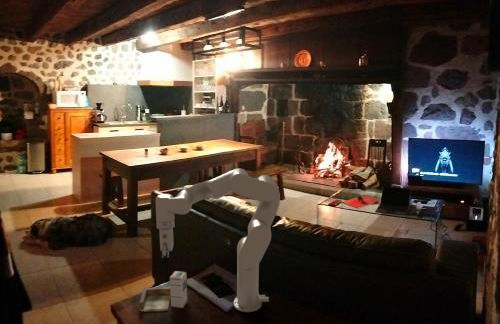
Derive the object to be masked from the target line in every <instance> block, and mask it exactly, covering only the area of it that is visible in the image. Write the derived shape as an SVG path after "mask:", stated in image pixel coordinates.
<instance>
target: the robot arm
mask: <svg viewBox="0 0 500 324" xmlns="http://www.w3.org/2000/svg"><path fill="white" fill-rule="evenodd" d="M232 193H235V194H236V195H239V196H241V197H245V198H247V199H252V200H255V201H256V202H257V201H258V205H257V206H256V209H255V211H254V214H253V216H252V217H251V219H250V221H249V223H248V226H247V235H246V236H244V237H242V238H240V239H239V241H238V242H237V246H236V255H237V257H236V260H237V261H236V266H237V267H236V269H237V270H236V297H235V298H234V300H233V307H234V309H236V310H238V311H240V312H243V313H251V312H255V311H258V310H260V308H261V307H262V304H263V302H265V303H266V302H267V303H268V302H269V301H270V300H269V299H270V298H269V296H266V294H259V277H260V276H259V274H260V271H259V270H260V263H261V261H262V259H263V257H264V255H265V253H266V251H267V249H268V247H269V245H270V242H271V241H272V230H271V226H272V224H273V221H274V220H275V217H276V215H277V213H278V209H279V207H280V203H281V194H280V189H279V187H278V185H277V182H276V181H275V180H274V178H273V177H271V176H270V175H268V174H263V175H260V176H259V177H257V178H255V177H252V176H250V175H249V173H248V172H247V171H246V170H245V169H243V168H240V167H239V168H234V169H232V170H229V171H227V172H226V173H223V174H221V175H218V176H216V177H215V178H212V179H210V180H206V181H203V182H198V183H196V184H194V185H192V186H190V187H187V188H185V189H183V190H181V191H180V192H178V193H177V195H176V196H175V197H174V195H172V194H169V193H161V194H157V196H156V197H155V217H156V229H158V230H159V247H160V248H159V249H160V252H161V267H169V266H170V263H171V261H170V260H171V259H170V256H172V253H173V248H174V229H173V228H175V227H176V225H175V223H176V222H175V220H176V219H175V214H177V215H186V214H188V213H190V211H191V210H192V207H193V204H196V203H198V202H200V201H203V200H206V199H213V200H219V199H220V198H223V197H225V196H227V195H231V194H232Z"/></svg>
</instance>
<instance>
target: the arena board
mask: <svg viewBox="0 0 500 324" xmlns="http://www.w3.org/2000/svg"><path fill="white" fill-rule="evenodd" d="M142 289H143V290H142V293H141V296H140V299H139V312H140V311H142V313H143V311H144V312H145V313H146V312H165V311H169V308H170V303H171V291H170V286H164V287H162V286H161V287H159V286H158V287H144V288H142Z"/></svg>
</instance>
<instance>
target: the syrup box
mask: <svg viewBox="0 0 500 324" xmlns="http://www.w3.org/2000/svg"><path fill="white" fill-rule="evenodd" d="M187 280H188V279H187V272H186V271H179V270H178V271H177V270H175V271H174V272H173V273H172V274H171V275H170V276H169V287H170V292H171V297H170V304H171V305H170V306H171V307H174V308H179V309H180V308H181V309H183V308H184V307H185V305H186V304H187V303H188V283H187Z"/></svg>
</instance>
